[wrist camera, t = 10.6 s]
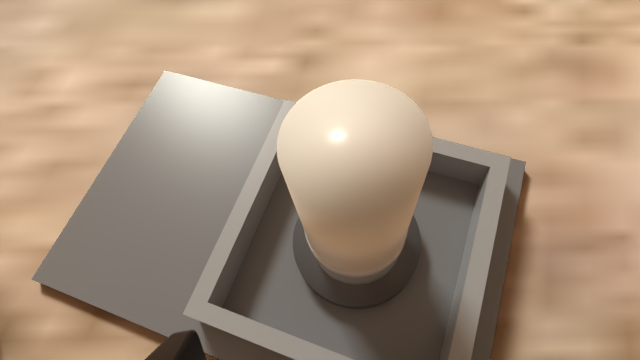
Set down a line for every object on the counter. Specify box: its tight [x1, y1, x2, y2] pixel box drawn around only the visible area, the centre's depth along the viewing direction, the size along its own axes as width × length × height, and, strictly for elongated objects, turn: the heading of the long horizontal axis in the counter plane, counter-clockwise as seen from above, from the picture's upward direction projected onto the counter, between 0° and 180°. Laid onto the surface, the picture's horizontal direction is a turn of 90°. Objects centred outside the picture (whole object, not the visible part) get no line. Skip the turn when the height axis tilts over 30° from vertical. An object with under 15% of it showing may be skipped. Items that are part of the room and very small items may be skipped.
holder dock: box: [32, 70, 526, 360], centre depth 20 cm, size 22×14×3 cm, turn 70°
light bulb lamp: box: [276, 79, 433, 309], centre depth 15 cm, size 6×6×10 cm
